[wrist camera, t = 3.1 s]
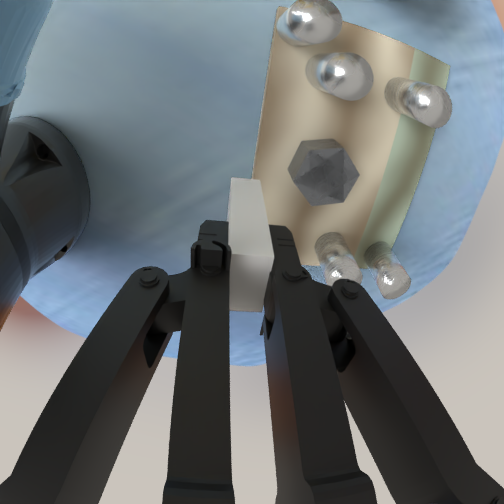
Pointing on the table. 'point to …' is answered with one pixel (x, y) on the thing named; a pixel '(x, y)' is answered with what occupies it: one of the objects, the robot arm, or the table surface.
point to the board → (343, 140)
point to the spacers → (354, 88)
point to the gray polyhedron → (323, 171)
